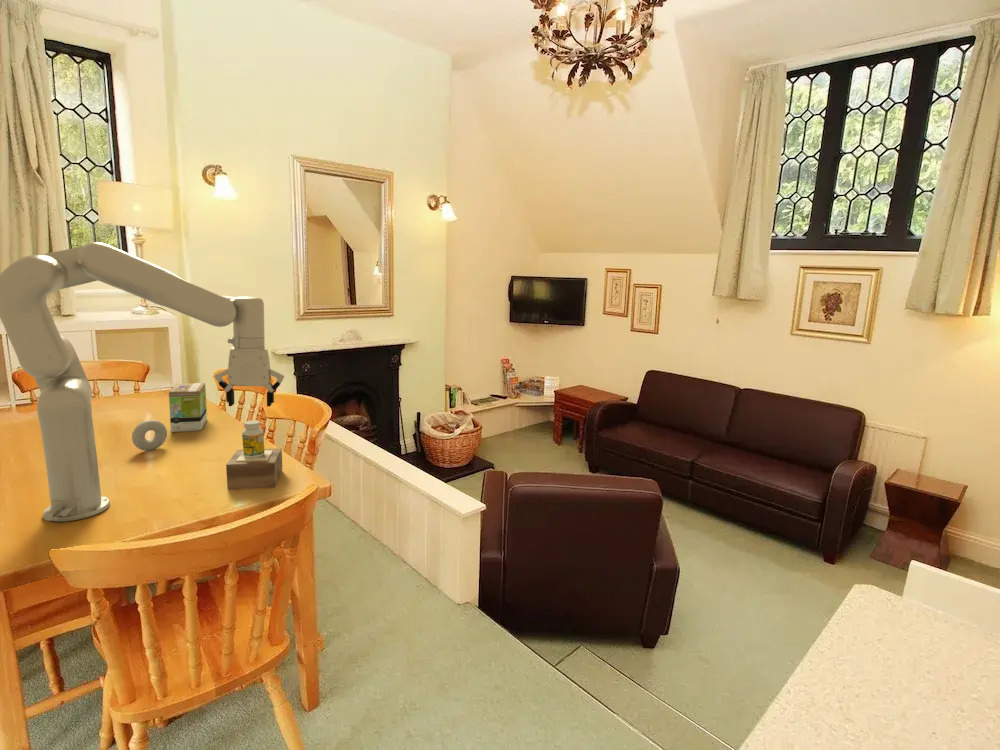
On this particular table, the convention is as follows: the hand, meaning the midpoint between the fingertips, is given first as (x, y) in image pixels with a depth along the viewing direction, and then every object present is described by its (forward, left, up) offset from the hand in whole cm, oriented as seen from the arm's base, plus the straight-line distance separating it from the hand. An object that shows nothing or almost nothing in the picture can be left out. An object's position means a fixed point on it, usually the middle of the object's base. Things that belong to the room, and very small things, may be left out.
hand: (250, 405), depth 148 cm
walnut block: (0, 0, -22) cm, 22 cm away
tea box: (+56, +34, -22) cm, 69 cm away
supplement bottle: (0, 0, -15) cm, 15 cm away
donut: (+29, +37, -22) cm, 52 cm away
